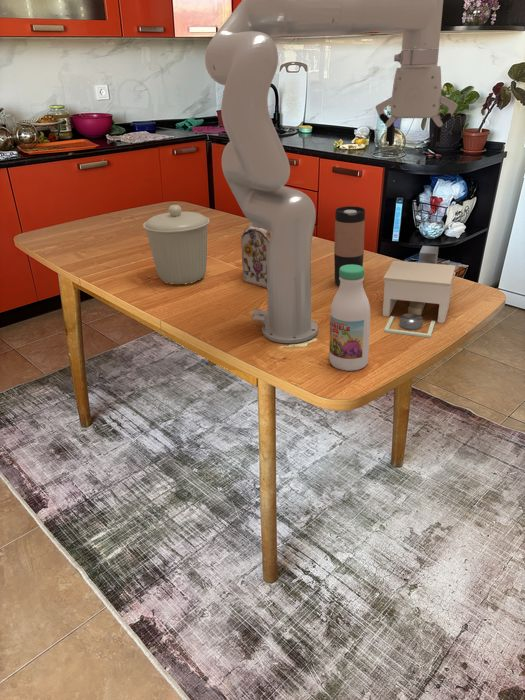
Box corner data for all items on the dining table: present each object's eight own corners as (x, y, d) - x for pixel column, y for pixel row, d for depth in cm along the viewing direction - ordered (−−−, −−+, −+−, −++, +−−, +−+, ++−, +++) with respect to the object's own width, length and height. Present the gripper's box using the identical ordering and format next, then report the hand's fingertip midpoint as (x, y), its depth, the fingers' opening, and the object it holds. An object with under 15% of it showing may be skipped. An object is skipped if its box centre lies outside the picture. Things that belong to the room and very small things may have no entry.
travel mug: (345, 276, 156) (347, 204, 147) (368, 282, 151) (371, 208, 142) (328, 284, 152) (328, 210, 142) (350, 291, 147) (353, 214, 137)
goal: (384, 331, 124) (384, 329, 124) (390, 318, 131) (390, 316, 130) (430, 337, 121) (430, 335, 120) (434, 323, 127) (435, 321, 127)
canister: (181, 265, 171) (173, 195, 162) (227, 274, 162) (221, 201, 152) (137, 283, 159) (126, 208, 149) (184, 295, 149) (175, 216, 139)
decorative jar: (273, 291, 149) (270, 224, 141) (241, 282, 156) (237, 217, 148) (301, 278, 157) (300, 214, 148) (270, 270, 164) (268, 208, 156)
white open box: (381, 316, 132) (383, 277, 127) (390, 296, 142) (393, 260, 138) (445, 323, 127) (450, 283, 122) (451, 303, 137) (455, 265, 132)
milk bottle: (342, 350, 117) (345, 258, 108) (375, 360, 113) (380, 265, 104) (321, 364, 112) (322, 269, 103) (355, 375, 108) (359, 277, 98)
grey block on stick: (405, 314, 132) (409, 274, 127) (419, 281, 150) (422, 245, 146) (423, 316, 131) (427, 276, 126) (434, 283, 149) (438, 246, 144)
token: (400, 331, 125) (401, 322, 124) (398, 321, 129) (398, 313, 128) (423, 331, 124) (424, 322, 123) (420, 321, 129) (421, 313, 128)
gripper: (374, 61, 118) (370, 147, 125) (461, 58, 112) (451, 148, 119) (381, 61, 124) (377, 142, 132) (464, 57, 118) (454, 143, 126)
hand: (412, 145), depth 125 cm, fingers open, 9 cm apart
